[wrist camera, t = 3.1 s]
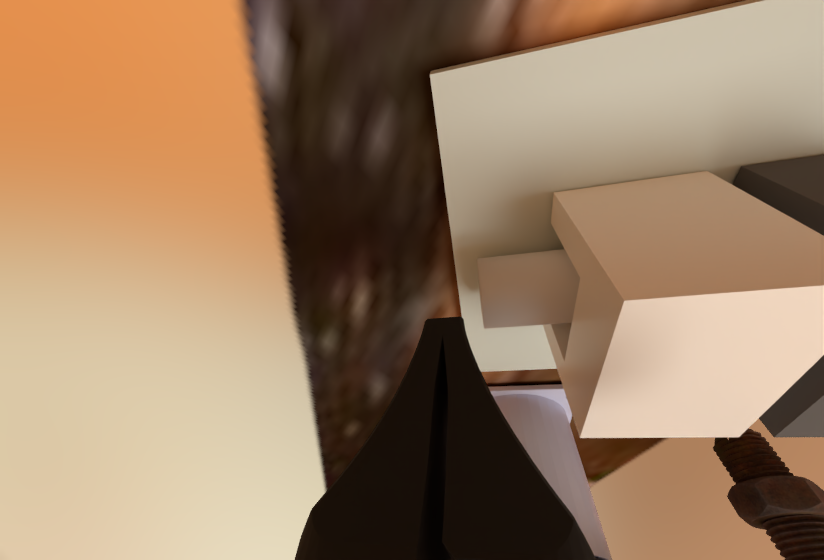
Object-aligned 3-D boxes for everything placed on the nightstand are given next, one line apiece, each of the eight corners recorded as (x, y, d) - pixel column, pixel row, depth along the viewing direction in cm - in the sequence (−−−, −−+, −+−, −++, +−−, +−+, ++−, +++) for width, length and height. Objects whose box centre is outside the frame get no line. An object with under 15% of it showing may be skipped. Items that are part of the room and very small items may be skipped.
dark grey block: (746, 305, 14) (887, 436, 10) (672, 310, 15) (774, 437, 10) (850, 150, 10) (1192, 256, 5) (741, 166, 10) (967, 274, 6)
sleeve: (649, 312, 15) (738, 437, 10) (541, 320, 16) (579, 438, 11) (707, 171, 11) (901, 278, 6) (553, 192, 12) (624, 300, 7)
